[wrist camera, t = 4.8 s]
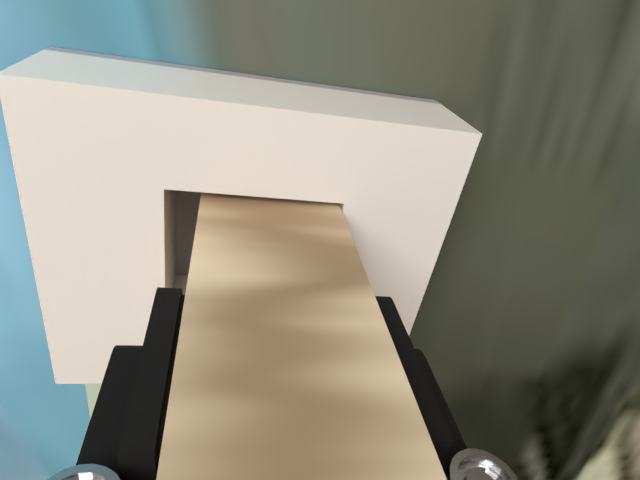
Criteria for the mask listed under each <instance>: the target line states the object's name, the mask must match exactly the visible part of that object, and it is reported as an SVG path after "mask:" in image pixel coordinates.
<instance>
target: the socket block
mask: <svg viewBox="0 0 640 480" xmlns="http://www.w3.org/2000/svg"><path fill="white" fill-rule="evenodd" d="M0 98H1V103H2V109H3V114H4V119H5V124H6V129H7V134H8V140H9V145H10V150H11V155H12V160H13V165H14V171H15V176H16V181H17V186H18V191H19V196H20V202H21V207H22V212H23V217H24V222H25V228H26V233H27V238H28V243H29V248H30V253H31V259H32V264H33V269H34V274H35V279H36V284H37V290H38V295H39V300H40V305H41V310H42V315H43V321H44V326H45V331H46V336H47V341H48V346H49V352H50V357H51V362H52V367H53V372H54V377H55V383H56V384H89V383H102V382H103V378H104V375H105V372H106V369H107V366H108V363H109V359H110V356H111V353H112V351H113V348H114V347H115V345H140V346H143V343H144V339H145V335H146V330H147V326H148V322H149V318H150V314H151V310H152V306H153V302H154V298H155V293H156V290H157V288H158V287H163V288H182V290H183V295H185V293H186V287H187V280H188V274H189V268H190V261H191V255H192V249H193V242H194V236H195V229H196V223H197V217H198V210H199V204H200V198H201V192H204V193H216V194H229V195H242V196H254V197H267V198H279V199H292V200H305V201H317V202H330V203H339V206H340V208H341V211H342V213H343V216H344V218H345V221H346V223H347V226H348V228H349V231H350V234H351V236H352V239H353V241H354V244H355V246H356V249H357V251H358V254H359V257H360V259H361V262H362V264H363V267H364V269H365V272H366V274H367V277H368V279H369V282H370V285H371V287H372V290H373V292H374V295H375V296H386V297H391V298H392V300H393V301H394V304H395V306H396V308H397V311H398V313H399V315H400V317H401V320H402V322H403V324H404V327H405V329H406V331H407V333H408V336H409V335H410V332H411V329H412V326H413V324H414V321H415V318H416V315H417V313H418V310H419V307H420V304H421V302H422V299H423V296H424V293H425V291H426V288H427V285H428V282H429V279H430V277H431V274H432V271H433V268H434V266H435V263H436V260H437V257H438V255H439V252H440V249H441V246H442V244H443V241H444V238H445V235H446V233H447V230H448V227H449V224H450V221H451V219H452V216H453V213H454V210H455V208H456V205H457V202H458V199H459V197H460V194H461V191H462V188H463V186H464V183H465V180H466V177H467V175H468V172H469V169H470V166H471V163H472V161H473V158H474V155H475V152H476V150H477V147H478V144H479V141H480V139H481V136H482V133H480V132H479V131H477V130H476V129H475V128H473V127H472V126H470V125H469V124H468V123H466V122H465V121H464V120H462V119H461V118H459V117H458V116H457V115H455V114H454V113H453V112H451V111H450V110H448V109H447V108H446V107H444V106H443V105H441V104H440V103H439V102H437V101H436V100H431V99H423V98H416V97H409V96H402V95H395V94H387V93H380V92H373V91H366V90H359V89H352V88H344V87H337V86H330V85H323V84H316V83H309V82H301V81H294V80H287V79H280V78H273V77H266V76H258V75H251V74H244V73H237V72H230V71H223V70H215V69H208V68H201V67H194V66H187V65H180V64H172V63H165V62H158V61H151V60H144V59H136V58H129V57H122V56H115V55H108V54H101V53H93V52H86V51H79V50H72V49H65V48H58V47H48V48H46V49H44V50H42V51H40V52H38V53H36V54H34V55H32V56H30V57H28V58H26V59H24V60H22V61H20V62H18V63H16V64H14V65H12V66H10V67H8V68H6V69H4V70H2V71H0Z"/></svg>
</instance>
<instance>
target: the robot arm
mask: <svg viewBox="0 0 640 480" xmlns="http://www.w3.org/2000/svg"><path fill="white" fill-rule="evenodd" d="M375 297H376V300H377V302H378V305H379V308H380V310H381V313H382V315H383V318H384V320H385V323H386V325H387V328H388V330H389V333H390V336H391V338H392V341H393V343H394V346H395V348H396V351H397V353H398V356H399V359H400V361H401V364H402V366H403V369H404V371H405V374H406V376H407V379H408V382H409V384H410V387H411V389H412V392H413V394H414V397H415V399H416V402H417V404H418V407H419V410H420V412H421V415H422V417H423V420H424V422H425V425H426V427H427V430H428V433H429V435H430V438H431V440H432V443H433V445H434V448H435V450H436V453H437V455H438V458H439V461H440V463H441V466H442V468H443V471H444V473H445V476H446V478H447V480H518V479H517V477H516V475H515V474H514V473H513V471H512V470H511V469H510V468H509V466H508V465H506V464H505V463H504V462H503V461H502V460H500V459H499V458H498V457H496V456H494V455H493V454H491V453H489V452H487V451H483V450H480V449H467V447H466V445H465V443H464V441H463V438H462V436H461V434H460V432H459V430H458V428H457V425H456V423H455V421H454V419H453V417H452V414H451V412H450V410H449V408H448V406H447V403H446V401H445V399H444V397H443V395H442V392H441V390H440V388H439V386H438V384H437V382H436V379H435V377H434V375H433V373H432V371H431V368H430V366H429V364H428V362H427V360H426V357H425V356H424V354H423V352H422V351H420V350H419V349H414V347H413V345H412V343H411V340H410V338H409V336H408V333H407V331H406V329H405V327H404V324H403V322H402V320H401V317H400V315H399V313H398V311H397V308H396V306H395V304H394V301H393V300H392V298H391V297H386V296H375ZM184 299H185V295H183V290H182V288H163V287H158V288H157V290H156V293H155V298H154V302H153V306H152V310H151V314H150V318H149V322H148V326H147V330H146V335H145V339H144V343H143V346H140V345H115V347H114V348H113V351H112V353H111V356H110V359H109V363H108V366H107V369H106V372H105V375H104V378H103V382H102V385H101V388H100V391H99V394H98V397H97V401H96V404H95V407H94V410H93V413H92V416H91V420H90V423H89V426H88V429H87V432H86V435H85V438H84V442H83V445H82V448H81V451H80V454H79V457H78V461H77V464H76V466H73V467H70V468H67V469H64V470H62V471H61V472H59V473H57V474H55V475H54V476H52V477H50V478H49V479H48V480H156V478H157V471H158V465H159V458H160V452H161V446H162V439H163V433H164V427H165V420H166V414H167V408H168V401H169V395H170V389H171V382H172V376H173V369H174V363H175V357H176V350H177V344H178V338H179V331H180V325H181V319H182V312H183V306H184Z"/></svg>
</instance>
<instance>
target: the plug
mask: <svg viewBox="0 0 640 480" xmlns="http://www.w3.org/2000/svg"><path fill="white" fill-rule="evenodd" d="M156 480H447V478H446V476H445V473H444V471H443V468H442V466H441V463H440V461H439V458H438V455H437V453H436V450H435V448H434V445H433V443H432V440H431V438H430V435H429V433H428V430H427V427H426V425H425V422H424V420H423V417H422V415H421V412H420V410H419V407H418V404H417V402H416V399H415V397H414V394H413V392H412V389H411V387H410V384H409V382H408V379H407V376H406V374H405V371H404V369H403V366H402V364H401V361H400V359H399V356H398V353H397V351H396V348H395V346H394V343H393V341H392V338H391V336H390V333H389V330H388V328H387V325H386V323H385V320H384V318H383V315H382V313H381V310H380V308H379V305H378V302H377V300H376V297H375V295H374V292H373V290H372V287H371V285H370V282H369V279H368V277H367V274H366V272H365V269H364V267H363V264H362V262H361V259H360V257H359V254H358V251H357V249H356V246H355V244H354V241H353V239H352V236H351V234H350V231H349V228H348V226H347V223H346V221H345V218H344V216H343V213H342V211H341V208H340V206H339V203H330V202H317V201H305V200H292V199H279V198H267V197H254V196H242V195H229V194H216V193H204V192H201V198H200V204H199V210H198V217H197V223H196V229H195V236H194V242H193V249H192V255H191V261H190V268H189V274H188V280H187V287H186V293H185V299H184V306H183V312H182V319H181V325H180V331H179V338H178V344H177V350H176V357H175V363H174V369H173V376H172V382H171V389H170V395H169V401H168V408H167V414H166V420H165V427H164V433H163V439H162V446H161V452H160V458H159V465H158V471H157V478H156Z"/></svg>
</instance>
